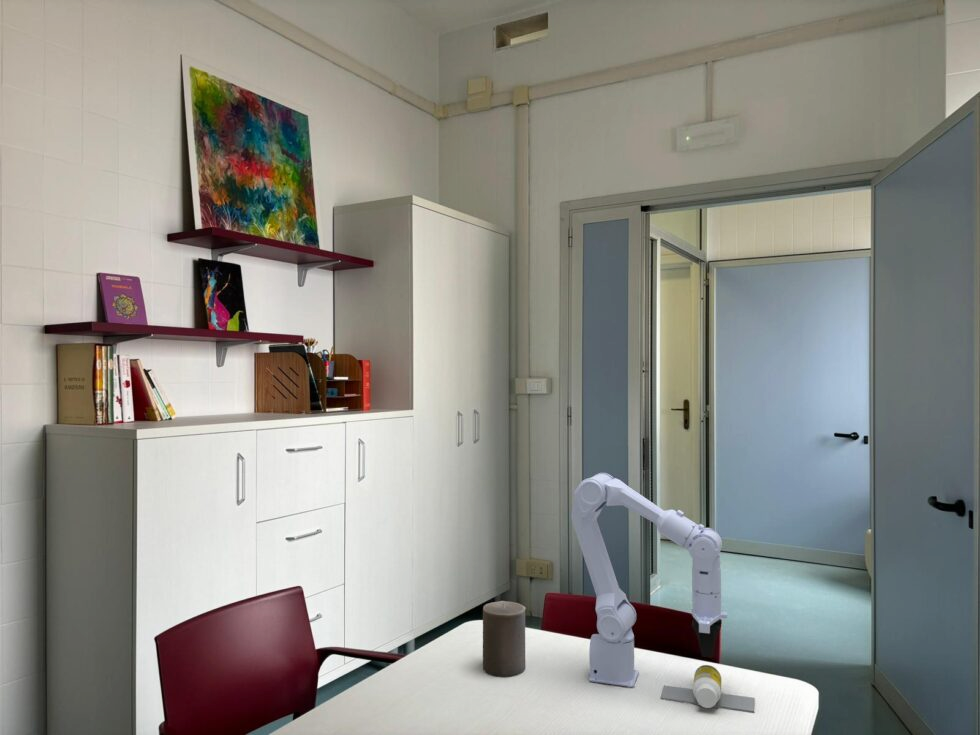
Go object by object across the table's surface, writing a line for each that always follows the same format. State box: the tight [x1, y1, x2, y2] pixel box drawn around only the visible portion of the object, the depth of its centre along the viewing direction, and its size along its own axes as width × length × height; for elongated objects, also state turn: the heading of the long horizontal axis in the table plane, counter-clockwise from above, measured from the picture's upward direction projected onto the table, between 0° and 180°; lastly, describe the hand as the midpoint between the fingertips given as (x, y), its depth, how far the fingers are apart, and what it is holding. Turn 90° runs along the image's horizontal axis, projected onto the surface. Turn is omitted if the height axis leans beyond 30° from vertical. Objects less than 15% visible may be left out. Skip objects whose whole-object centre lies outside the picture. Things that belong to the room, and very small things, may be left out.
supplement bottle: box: [692, 664, 722, 709], centre depth 145 cm, size 5×5×10 cm
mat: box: [659, 684, 756, 713], centre depth 146 cm, size 18×6×1 cm, turn 69°
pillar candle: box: [482, 600, 527, 678], centre depth 163 cm, size 10×10×15 cm
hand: (707, 656), depth 148 cm, fingers closed
